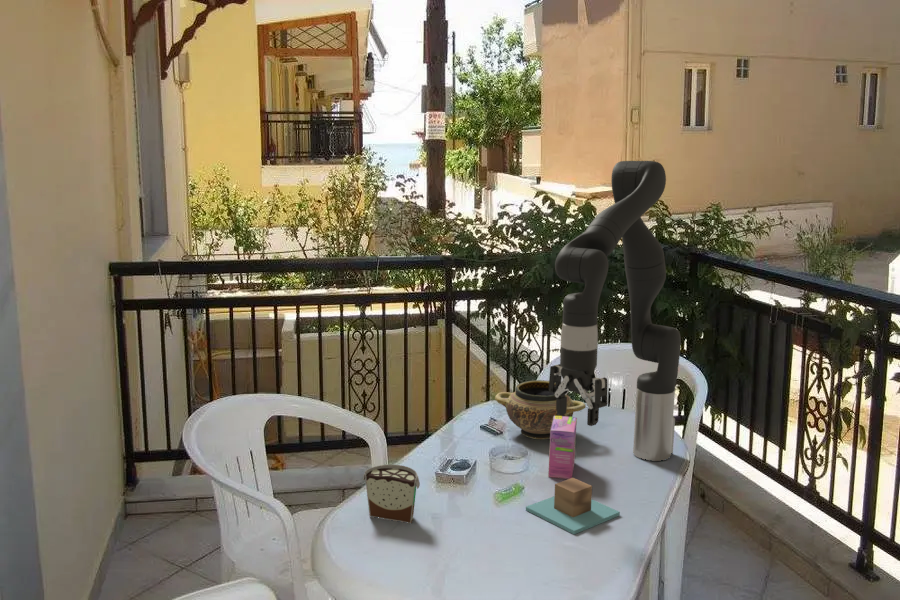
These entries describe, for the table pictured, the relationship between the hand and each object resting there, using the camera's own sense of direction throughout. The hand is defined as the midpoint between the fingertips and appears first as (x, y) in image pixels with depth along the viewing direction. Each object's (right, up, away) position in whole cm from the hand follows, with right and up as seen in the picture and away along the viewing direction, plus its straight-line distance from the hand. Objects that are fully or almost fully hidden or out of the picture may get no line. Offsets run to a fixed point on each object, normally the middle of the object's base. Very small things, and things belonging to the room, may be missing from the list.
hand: (576, 419), depth 178 cm
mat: (0, -20, +3) cm, 20 cm away
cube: (0, -19, +3) cm, 20 cm away
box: (0, -16, +26) cm, 30 cm away
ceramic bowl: (-3, -11, +50) cm, 51 cm away
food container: (-38, -20, +2) cm, 43 cm away
